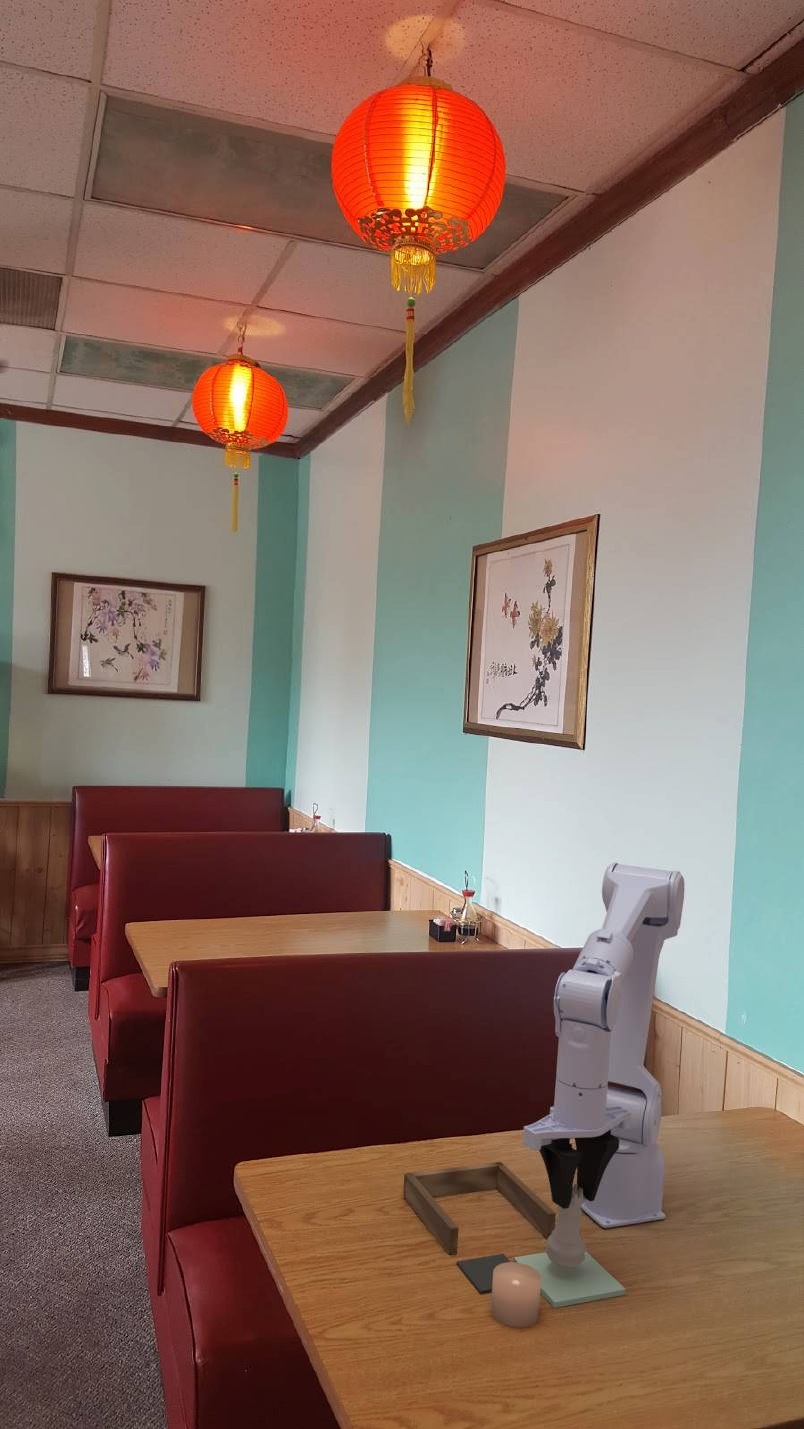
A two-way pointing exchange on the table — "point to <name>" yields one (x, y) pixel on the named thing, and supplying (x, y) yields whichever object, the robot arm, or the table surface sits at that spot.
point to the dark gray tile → (481, 1270)
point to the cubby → (471, 1179)
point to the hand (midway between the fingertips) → (573, 1200)
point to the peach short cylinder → (515, 1294)
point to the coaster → (572, 1280)
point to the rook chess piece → (568, 1234)
